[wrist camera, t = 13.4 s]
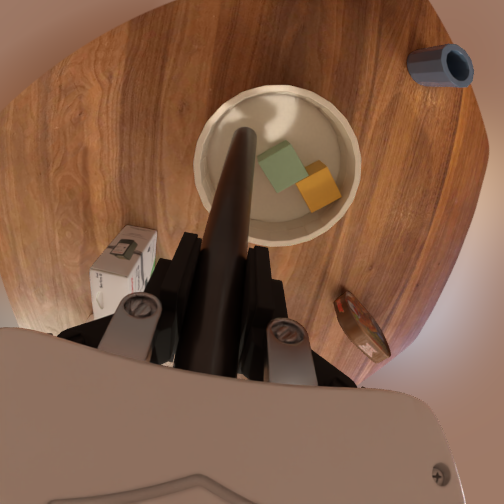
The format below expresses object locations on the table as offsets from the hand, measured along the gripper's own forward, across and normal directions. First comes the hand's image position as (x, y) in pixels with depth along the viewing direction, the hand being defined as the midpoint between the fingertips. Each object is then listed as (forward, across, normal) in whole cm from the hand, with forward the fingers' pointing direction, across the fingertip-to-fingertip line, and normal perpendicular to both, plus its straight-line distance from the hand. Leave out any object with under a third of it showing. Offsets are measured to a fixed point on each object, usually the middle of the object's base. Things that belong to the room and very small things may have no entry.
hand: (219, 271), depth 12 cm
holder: (+25, -20, -19) cm, 37 cm away
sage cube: (+24, -5, -1) cm, 25 cm away
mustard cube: (+24, -9, +1) cm, 26 cm away
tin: (+25, -24, +20) cm, 39 cm away
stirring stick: (+14, 0, -4) cm, 15 cm away
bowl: (+25, -4, -1) cm, 25 cm away
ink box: (+25, +11, +16) cm, 31 cm away
